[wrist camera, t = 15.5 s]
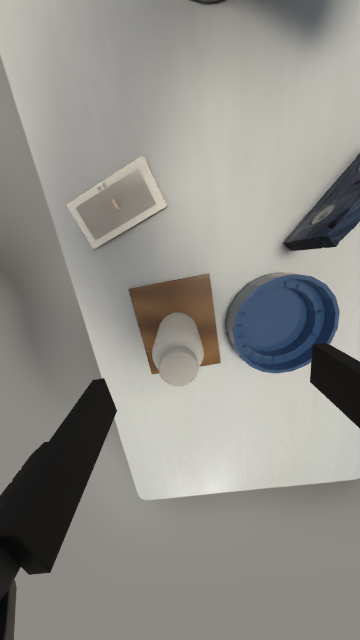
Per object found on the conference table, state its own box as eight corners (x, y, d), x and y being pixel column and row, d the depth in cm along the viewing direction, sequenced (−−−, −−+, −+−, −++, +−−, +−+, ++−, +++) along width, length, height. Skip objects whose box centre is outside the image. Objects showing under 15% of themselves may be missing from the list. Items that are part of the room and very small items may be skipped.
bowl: (221, 283, 35) (228, 286, 30) (321, 264, 34) (344, 264, 29) (230, 366, 41) (237, 379, 36) (315, 352, 40) (334, 364, 35)
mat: (129, 288, 35) (128, 289, 34) (208, 273, 34) (209, 273, 34) (152, 372, 41) (152, 374, 40) (220, 361, 40) (220, 363, 40)
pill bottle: (201, 316, 36) (216, 351, 22) (190, 349, 39) (197, 400, 24) (164, 306, 35) (155, 336, 21) (155, 341, 38) (141, 388, 24)
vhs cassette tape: (290, 252, 33) (336, 247, 24) (280, 241, 32) (322, 232, 23) (377, 158, 29) (476, 107, 19) (367, 144, 28) (464, 84, 19)
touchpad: (167, 208, 31) (166, 204, 28) (96, 249, 33) (90, 249, 30) (144, 158, 28) (141, 150, 26) (69, 206, 30) (62, 202, 28)
